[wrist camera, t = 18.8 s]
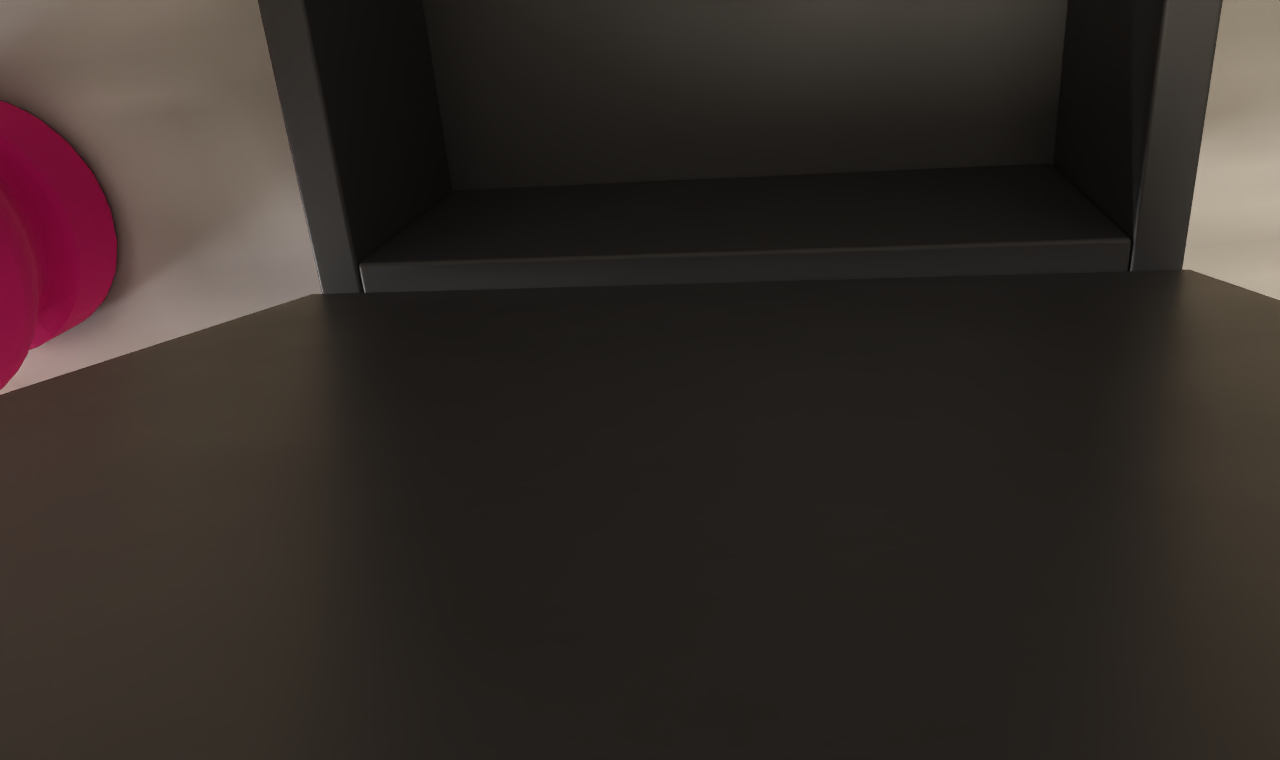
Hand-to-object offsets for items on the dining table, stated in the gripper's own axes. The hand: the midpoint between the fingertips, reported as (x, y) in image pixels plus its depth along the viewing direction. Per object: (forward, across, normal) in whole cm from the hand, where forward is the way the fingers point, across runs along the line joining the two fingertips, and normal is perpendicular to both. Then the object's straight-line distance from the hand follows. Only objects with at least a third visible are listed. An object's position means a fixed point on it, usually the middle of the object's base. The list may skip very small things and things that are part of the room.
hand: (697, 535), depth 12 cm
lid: (-2, 0, -3) cm, 4 cm away
